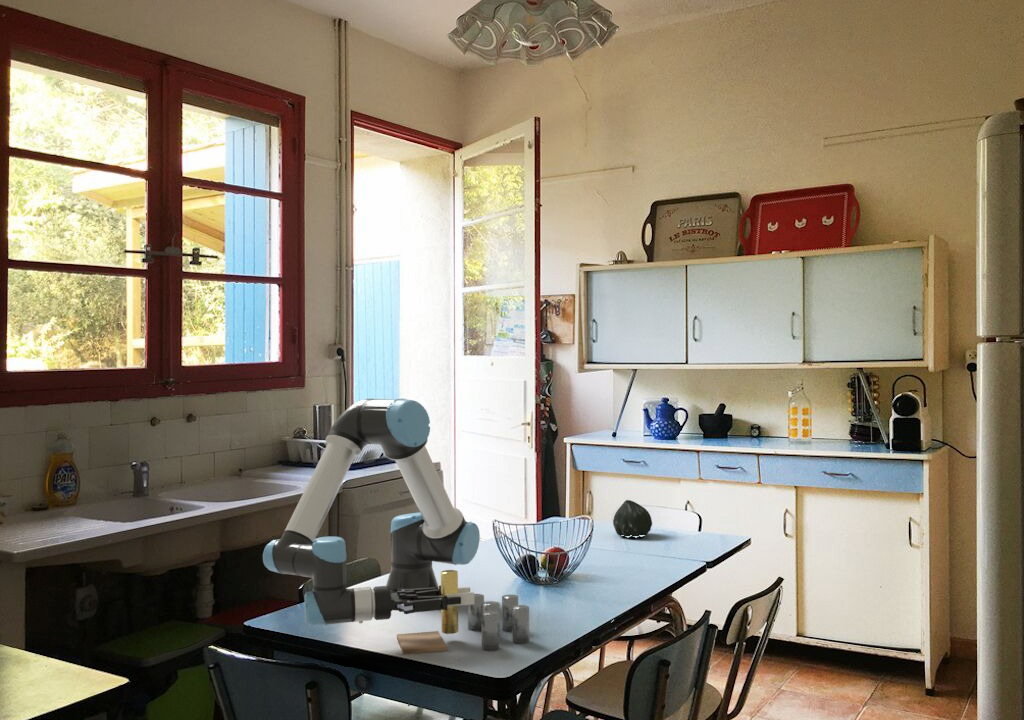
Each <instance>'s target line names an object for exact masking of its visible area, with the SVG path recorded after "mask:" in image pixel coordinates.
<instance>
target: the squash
mask: <svg viewBox="0 0 1024 720" xmlns="http://www.w3.org/2000/svg"><path fill="white" fill-rule="evenodd" d="M652 520H653V519H652V516H651V514H650V512H649V511H648V510H647V509H646V508H645V507H644V506H642V505H641V504H639V503H637V502H635V501H632V500H630V499H626V500H625V501H623V503H622V504H621V505H620V507H618V509H617V510H616V512H615V514H614V516H613V519H612V522H613V523H612V524H613V527H614V529H615V532H616V534H617V536H619V535H624V536H630V535H632V536H639V535H646V536H647V535H648V533H649V532H651V530H652V526H653V521H652Z"/></svg>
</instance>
